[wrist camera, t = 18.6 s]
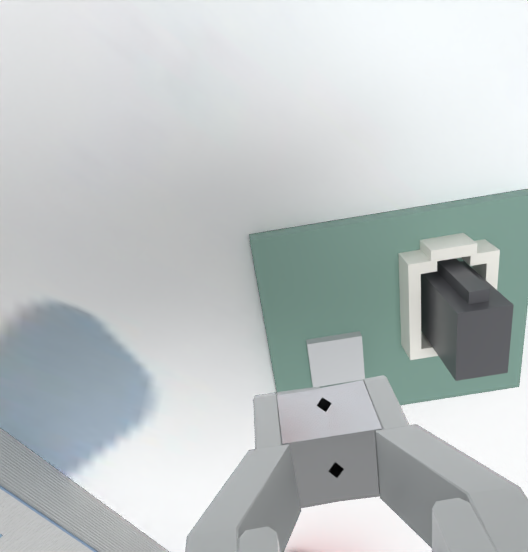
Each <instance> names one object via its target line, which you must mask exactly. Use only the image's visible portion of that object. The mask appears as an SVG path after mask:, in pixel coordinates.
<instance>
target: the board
mask: <svg viewBox="0 0 528 552" xmlns="http://www.w3.org/2000/svg"><path fill="white" fill-rule="evenodd" d="M249 236H250V244H251V250H252V256H253V261H254V267H255V272H256V278H257V284H258V289H259V295H260V300H261V306H262V311H263V317H264V323H265V328H266V334H267V339H268V345H269V351H270V356H271V362H272V367H273V373H274V379H275V384H276V390H277V392H282V391H289V390H297V389H304V388H312V387H320V386H326V385H332V384H339V383H345V382H351V381H357V380H362V379H365V378H371V377H376V376H382V375H384V376H385V377H387V379H388V381H389V383H390V385H391V387H392V390H393V392H394V394H395V396H396V398H397V400H398V402H399V404H400V405H405V404H411V403H418V402H424V401H431V400H437V399H444V398H450V397H456V396H463V395H469V394H476V393H482V392H489V391H495V390H501V389H508V388H514V387H519V383H520V373H521V364H522V354H523V345H524V335H525V325H526V316H527V306H528V189H524V190H518V191H512V192H506V193H500V194H494V195H487V196H481V197H475V198H469V199H463V200H457V201H451V202H445V203H439V204H432V205H426V206H420V207H414V208H408V209H402V210H396V211H390V212H384V213H377V214H371V215H365V216H359V217H353V218H347V219H341V220H335V221H328V222H322V223H316V224H310V225H304V226H298V227H292V228H286V229H280V230H273V231H267V232H261V233H255V234H249ZM454 258H456V259H457V260H458V261H465V262H466V263H467V264H468V265H469V266H470V267H471V268H472V269H474V270H475V271H476V272H477V273H478V274H479V275H480V276H482V277H483V278H484V279H485V280H486V281H487V282H488V283H490V284H491V285H492V286H493V287H494V288H495V289H496V290H497V291H499V292H500V293H501V294H502V295H503V296H504V297H505V298H507V299H508V300H509V301H510V302H511V303H512V304H513V305H514V308H513V319H512V330H511V341H510V353H509V364H508V373H504V374H497V375H491V376H484V377H478V378H472V379H465V380H459V381H455V379H454V378H453V376H452V375H451V373H450V372H449V371H448V369H447V368H446V366H445V365H444V363H443V362H442V360H441V359H440V357H439V356H438V354H437V353H436V351H435V350H434V349H433V347H432V346H431V344H430V343H429V341H428V340H427V338H426V337H425V335H424V334H423V332H422V331H421V274H424V273H430V272H436V271H437V261H442V260H448V259H454Z"/></svg>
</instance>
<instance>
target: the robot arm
mask: <svg viewBox="0 0 528 552" xmlns="http://www.w3.org/2000/svg"><path fill="white" fill-rule="evenodd" d="M253 403H254V427H255V449H253V450H249V451H248V452H247V454H246V455H245V456H244V458H243V459H242V461H241V462H240V463H239V465H238V466H237V468H236V469H235V470H234V472H233V473H232V474H231V476H230V477H229V479H228V480H227V481H226V483H225V484H224V486H223V487H222V488H221V490H220V491H219V493H218V494H217V495H216V497H215V498H214V500H213V501H212V502H211V504H210V505H209V507H208V508H207V509H206V511H205V512H204V514H203V515H202V516H201V518H200V519H199V520H198V522H197V523H196V525H195V526H194V527H193V529H192V530H191V532H190V533H189V534H188V536H187V540H186V549H185V552H284V550H285V547H286V545H287V543H288V540H289V538H290V536H291V533H292V531H293V529H294V526H295V524H296V522H297V519H298V517H299V515H300V512H301V508H305V507H310V506H316V505H321V504H327V503H332V502H338V501H345V500H353V499H361V498H370V497H378V496H380V498H381V499H382V500H383V501H384V502H385V503H386V504H387V505H388V506H389V507H390V508H391V509H392V510H393V511H394V512H395V513H396V514H397V515H398V516H399V517H400V518H401V519H402V520H403V521H404V522H405V523H406V524H407V525H408V526H409V527H410V528H411V529H413V530H414V531H415V532H416V533H417V534H418V535H419V536H420V537H421V538H422V539H423V540H424V541H425V542H426V543H427V544H428V545H429V546H430V547H431V548H432V552H528V498H527V497H526V495H525V494H524V492H523V491H522V489H521V488H520V487H519V486H517V485H516V484H514V483H512V482H511V481H509V480H507V479H506V478H504V477H502V476H501V475H499V474H498V473H496V472H494V471H493V470H491V469H489V468H488V467H486V466H484V465H483V464H481V463H479V462H478V461H476V460H474V459H473V458H471V457H469V456H468V455H466V454H465V453H463V452H461V451H460V450H458V449H456V448H455V447H453V446H451V445H450V444H448V443H446V442H445V441H443V440H441V439H440V438H438V437H436V436H435V435H433V434H431V433H430V432H428V431H427V430H425V429H423V428H422V427H420V426H418V425H417V424H415V425H409V423H408V421H407V419H406V417H405V415H404V413H403V410H402V408H401V406H400V404H399V402H398V400H397V398H396V396H395V394H394V392H393V390H392V387H391V385H390V383H389V381H388V379H387V377H385V376H384V375H382V376H376V377H371V378H365V379H362V380H357V381H351V382H345V383H339V384H332V385H326V386H320V387H312V388H304V389H297V390H289V391H282V392H277V395H276V393H269V394H262V395H255V396H254V400H253Z"/></svg>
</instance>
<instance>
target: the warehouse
mask: <svg viewBox="0 0 528 552" xmlns="http://www.w3.org/2000/svg"><path fill="white" fill-rule="evenodd" d="M0 552H169V551H167V550H166V549H165V548H163V547H162V546H161V545H159V544H158V543H156V542H155V541H154V540H152V539H151V538H150V537H148V536H147V535H146V534H144V533H143V532H141V531H140V530H139V529H137V528H136V527H135V526H133V525H132V524H131V523H129V522H128V521H126V520H125V519H124V518H122V517H121V516H120V515H118V514H117V513H116V512H114V511H113V510H111V509H110V508H109V507H107V506H106V505H105V504H103V503H102V502H101V501H99V500H98V499H96V498H95V497H94V496H92V495H91V494H90V493H88V492H87V491H86V490H84V489H83V488H81V487H80V486H79V485H77V484H76V483H75V482H73V481H72V480H71V479H69V478H68V477H66V476H65V475H64V474H62V473H61V472H60V471H58V470H57V469H56V468H54V467H53V466H51V465H50V464H49V463H47V462H46V461H45V460H43V459H42V458H41V457H39V456H38V455H36V454H35V453H34V452H32V451H31V450H30V449H28V448H27V447H26V446H24V445H23V444H21V443H20V442H19V441H17V440H16V439H15V438H13V437H12V436H11V435H9V434H8V433H6V432H5V431H4V430H2V429H1V428H0Z"/></svg>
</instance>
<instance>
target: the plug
mask: <svg viewBox="0 0 528 552" xmlns="http://www.w3.org/2000/svg"><path fill="white" fill-rule="evenodd" d="M513 308H514V305H513V304H512V303H511V302H510V301H509V300H508V299H507V298H505V297H504V296H503V295H502V294H501V293H500V292H499V291H497V290H496V289H495V288H494V287H493V286H492V285H491V284H490V283H488V282H487V281H486V280H485V279H484V278H483V277H482V276H480V275H479V274H478V273H477V272H476V271H475V270H474V269H472V268H471V267H470V266H469V265H468V264H467V263H466V262H465V261H458V260H457V259H456V258H454V259H448V260H442V261H437V271H436V272H430V273H424V274H421V331H422V332H423V334H424V335H425V337H426V338H427V340H428V341H429V343H430V344H431V346H432V347H433V349H434V350H435V351H436V353H437V354H438V356H439V357H440V359H441V360H442V362H443V363H444V365H445V366H446V368H447V369H448V371H449V372H450V373H451V375H452V376H453V378H454V379H455V381H459V380H465V379H472V378H478V377H484V376H491V375H497V374H504V373H508V364H509V353H510V341H511V330H512V319H513Z"/></svg>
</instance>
